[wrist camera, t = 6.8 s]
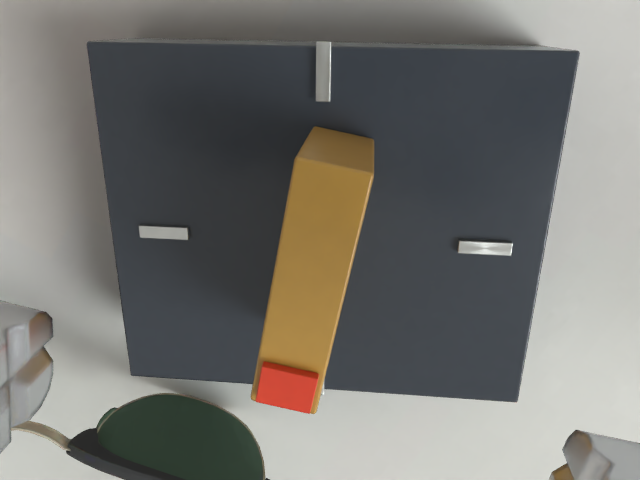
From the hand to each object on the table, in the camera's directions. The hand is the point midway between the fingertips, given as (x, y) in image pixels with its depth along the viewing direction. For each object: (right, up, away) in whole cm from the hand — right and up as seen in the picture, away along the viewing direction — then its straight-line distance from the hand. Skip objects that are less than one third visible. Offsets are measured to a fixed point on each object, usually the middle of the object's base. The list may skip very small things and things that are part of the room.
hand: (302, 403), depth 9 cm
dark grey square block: (+1, +4, +9) cm, 10 cm away
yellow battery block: (0, +3, +7) cm, 7 cm away
